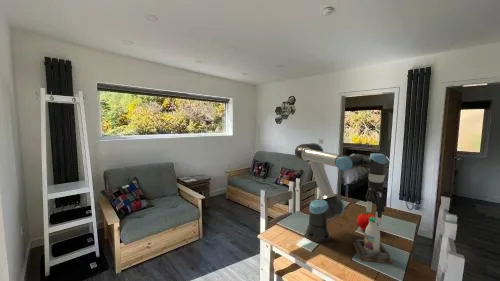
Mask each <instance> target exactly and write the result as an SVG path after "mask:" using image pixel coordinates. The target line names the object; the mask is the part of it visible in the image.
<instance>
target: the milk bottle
mask: <svg viewBox="0 0 500 281" xmlns="http://www.w3.org/2000/svg"><path fill="white" fill-rule="evenodd" d="M375 217H376V216H375ZM375 217H369V224H368V226H367V227H366V229H365V230H364V238H363V240H364V250H365V251H369V252H379V247H380V243H381V232H380V229H379V224H378V225H377V223H376V222H375V219H376V218H375Z"/></svg>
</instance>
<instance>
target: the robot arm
mask: <svg viewBox="0 0 500 281" xmlns="http://www.w3.org/2000/svg"><path fill="white" fill-rule="evenodd" d="M369 154H370V155H365V154H360V153H352V154H350V155H342V154H337V153H331V152H327V151H324V148H323V147H322V146H321V145H320V144H319V143H315V142H313V143H300V144H299V145H297V146H296V147H295V149H294V156H295V157H296V158H297V159H298V160H300V161H304V162H307V164H309V165H310V167H311V171H312V174H313V177H314V179H315V183H316V185H317V187H318V188H317V189H318V191H319V193H320V198H319V199H314V200H312V201H310V203H309V207H308V214H309V215H308V225H307V227H306V230H305V236H306V238H307V239H308V240H310V241H312V242H315V243H319V244H320V243H322V244H323V243H328V242H329V240H330V236H331V235H330V234H331V233H330V231H329V228H328V221H329V220H331V219H335V218H337V217H340V216H342V215H343V214H344V213H345V208H346V207H345V203H344V201H343V200H341V198H339V197H338V195H337V194H335V193H334V190H333V187H332V185H331V183H330V180H329V177H328V175H327V171H326V169H325V167H324V165H327V166H330V167H336V169H338V170H341V171H348V170H349V171H350V170H354V169H367V170H368V177H367V178H368V183H367V186H368V188H367V192H366V195H365V199H366V208H365V209H366V210H365V211H366V212H365V213H372V210H373V201H374V203H375V208H376V210H375V217H376V219H375V222H376V223H378V224H382V216H383V213H385V204H384V193H383V192H381V190H383V189H384V186H385V184H384V181H385V178H386V176H385V170H386V155H385V154H383V153H377V152H375V153H374V152H373V153H369Z"/></svg>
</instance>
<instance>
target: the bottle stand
mask: <svg viewBox="0 0 500 281" xmlns="http://www.w3.org/2000/svg"><path fill="white" fill-rule="evenodd" d="M352 246H353V248H354V249H355V251H356V253H357V255H358V257H359V259H360V260H361V261H366V262H374V261H375V263H376V262H377V263H383V262H385V263H384V264H392V263H393V264H394V261H393V259H392V258H391V257H390V253H389V252H388V251H387V249H386V248H385V246H383V244H382V243H381V242H380V247H379V252H369V251H365V250H364V239H359V238H356V239H355V242H352Z"/></svg>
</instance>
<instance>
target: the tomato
mask: <svg viewBox="0 0 500 281" xmlns="http://www.w3.org/2000/svg"><path fill="white" fill-rule="evenodd" d="M369 217H375V218H376V215H374V214H371V212H362V213H359V215H358V217H357V218H356V223H357V225H358V227H359V228H360V229H362V230H364V231H365V229H366V227H367V226H368V224H369ZM377 225H378V226H379V223H377Z"/></svg>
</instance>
